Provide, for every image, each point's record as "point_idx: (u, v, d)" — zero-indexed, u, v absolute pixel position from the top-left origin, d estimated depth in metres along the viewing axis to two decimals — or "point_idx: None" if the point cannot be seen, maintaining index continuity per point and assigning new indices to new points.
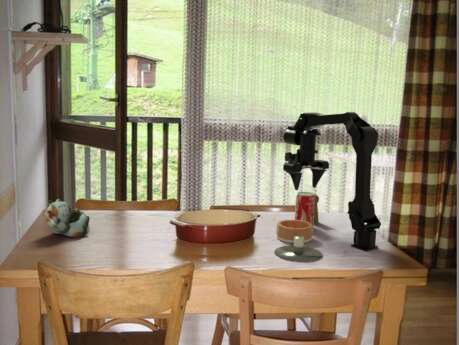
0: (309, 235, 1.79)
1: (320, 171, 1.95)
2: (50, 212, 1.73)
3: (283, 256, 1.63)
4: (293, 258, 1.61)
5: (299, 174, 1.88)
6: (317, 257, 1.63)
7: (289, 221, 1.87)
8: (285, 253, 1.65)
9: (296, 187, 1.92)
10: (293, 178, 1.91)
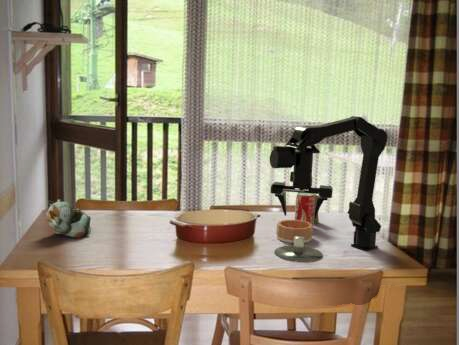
0: (309, 235, 1.79)
1: (317, 199, 1.60)
2: (52, 212, 1.72)
3: (283, 256, 1.63)
4: (293, 258, 1.61)
5: (279, 197, 1.62)
6: (317, 257, 1.63)
7: (289, 221, 1.87)
8: (285, 253, 1.65)
9: None
10: None
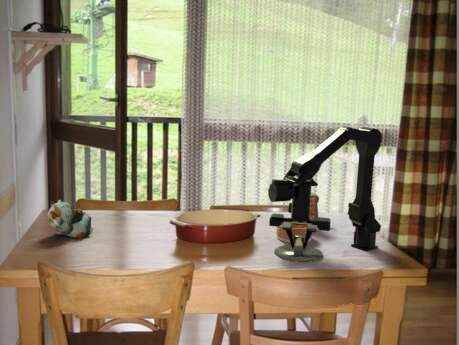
0: None
1: (306, 231, 1.63)
2: (53, 213, 1.72)
3: (283, 255, 1.62)
4: (293, 257, 1.61)
5: (287, 230, 1.63)
6: (317, 256, 1.63)
7: None
8: (285, 252, 1.65)
9: (291, 244, 1.66)
10: None
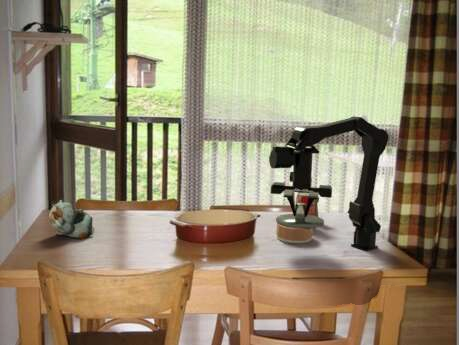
0: (309, 235, 1.79)
1: (308, 198, 1.62)
2: (55, 213, 1.71)
3: (285, 222, 1.62)
4: (295, 224, 1.61)
5: (288, 197, 1.63)
6: (319, 223, 1.62)
7: None
8: (287, 220, 1.65)
9: None
10: None
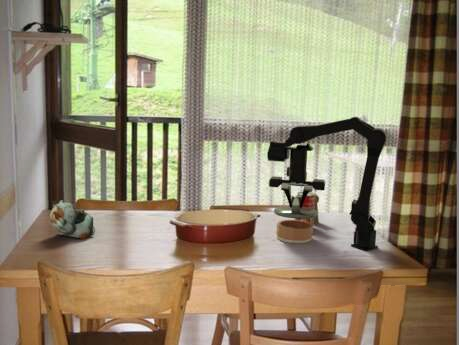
0: (309, 235, 1.79)
1: (303, 191, 1.78)
2: (56, 213, 1.71)
3: (282, 213, 1.78)
4: (291, 214, 1.76)
5: (285, 190, 1.78)
6: (313, 214, 1.78)
7: (289, 221, 1.87)
8: (283, 211, 1.80)
9: (289, 204, 1.81)
10: None
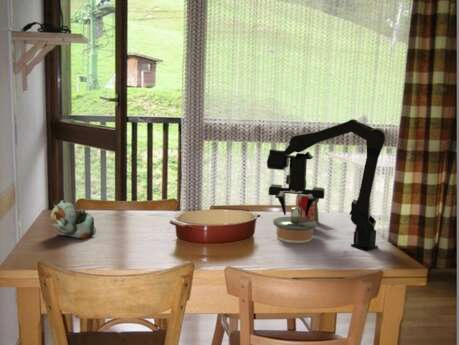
0: (309, 235, 1.79)
1: None
2: (57, 213, 1.71)
3: (281, 224, 1.78)
4: (290, 226, 1.77)
5: (279, 198, 1.79)
6: (312, 225, 1.78)
7: None
8: (283, 222, 1.81)
9: None
10: None
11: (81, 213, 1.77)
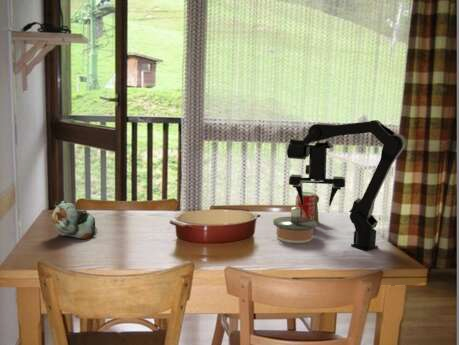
0: (309, 235, 1.79)
1: None
2: (59, 214, 1.71)
3: (281, 224, 1.78)
4: (290, 226, 1.77)
5: (297, 187, 1.79)
6: (312, 225, 1.78)
7: None
8: (283, 222, 1.81)
9: (301, 201, 1.82)
10: None
11: (82, 213, 1.77)
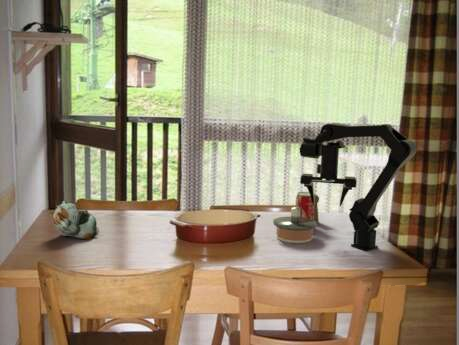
0: (309, 235, 1.79)
1: (343, 188, 1.78)
2: (60, 214, 1.70)
3: (281, 224, 1.78)
4: (290, 226, 1.77)
5: (308, 187, 1.80)
6: (312, 225, 1.78)
7: None
8: (283, 222, 1.81)
9: None
10: None
11: (84, 213, 1.77)
